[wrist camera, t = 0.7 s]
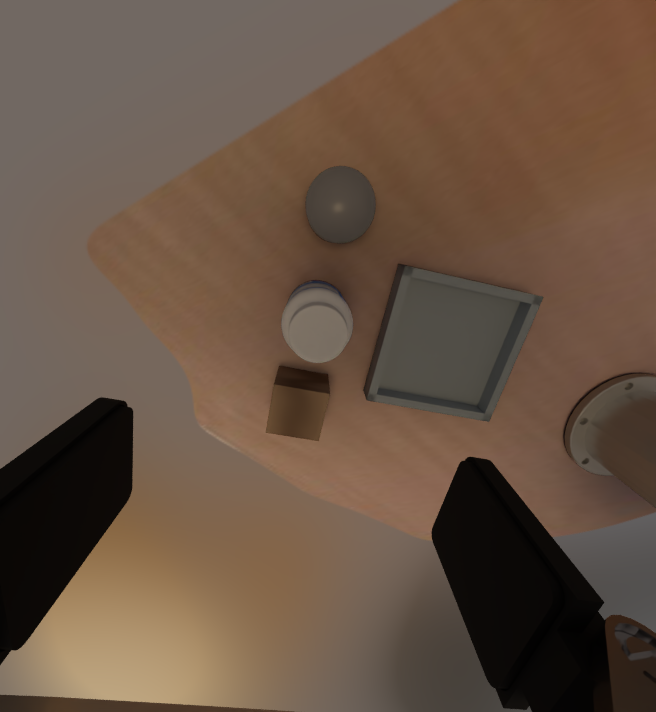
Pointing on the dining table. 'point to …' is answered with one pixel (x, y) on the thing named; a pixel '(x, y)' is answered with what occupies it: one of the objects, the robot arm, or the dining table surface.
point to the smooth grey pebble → (340, 204)
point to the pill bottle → (317, 322)
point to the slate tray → (448, 343)
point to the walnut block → (298, 403)
